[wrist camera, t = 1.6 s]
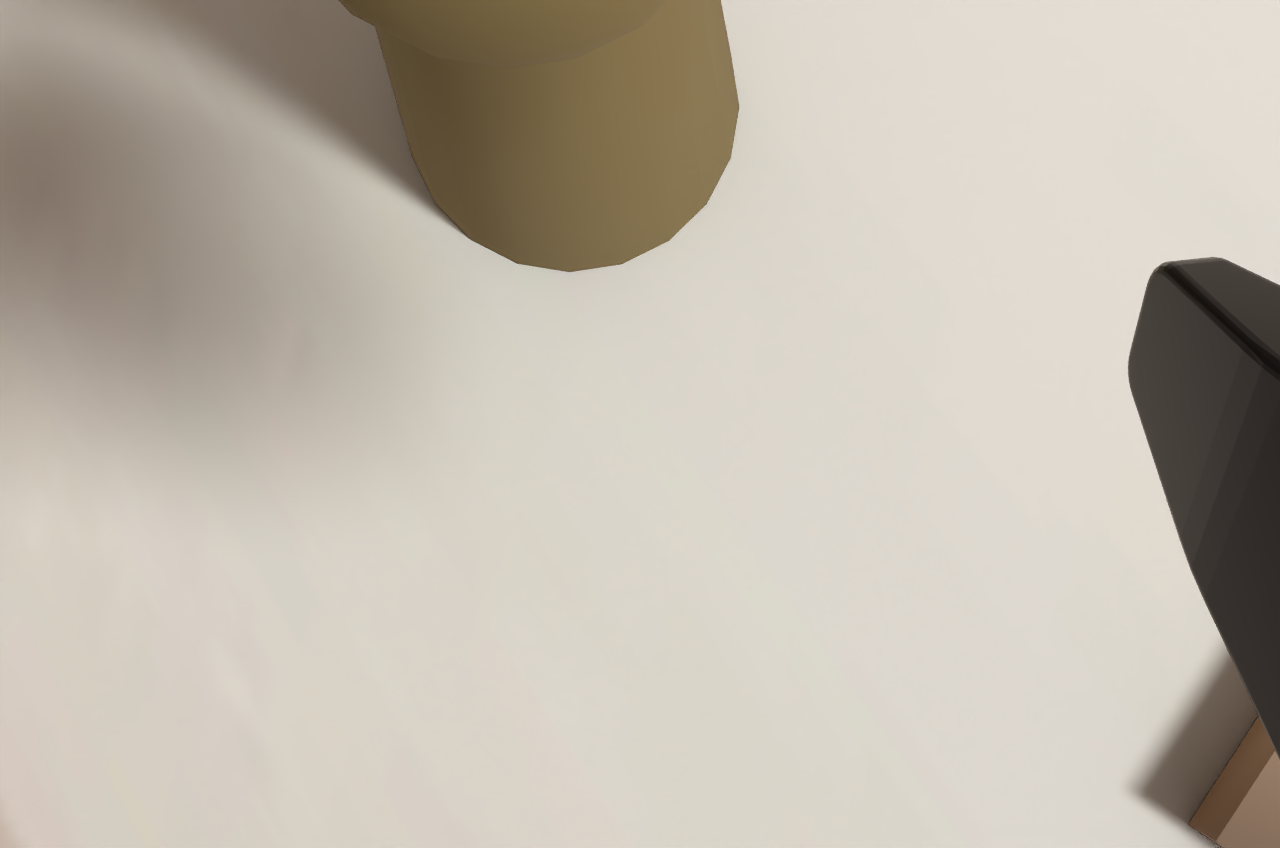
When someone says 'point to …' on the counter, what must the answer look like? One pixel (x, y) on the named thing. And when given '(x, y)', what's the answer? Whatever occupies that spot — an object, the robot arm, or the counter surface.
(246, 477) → the counter surface
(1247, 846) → the pin board
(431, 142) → the cork
